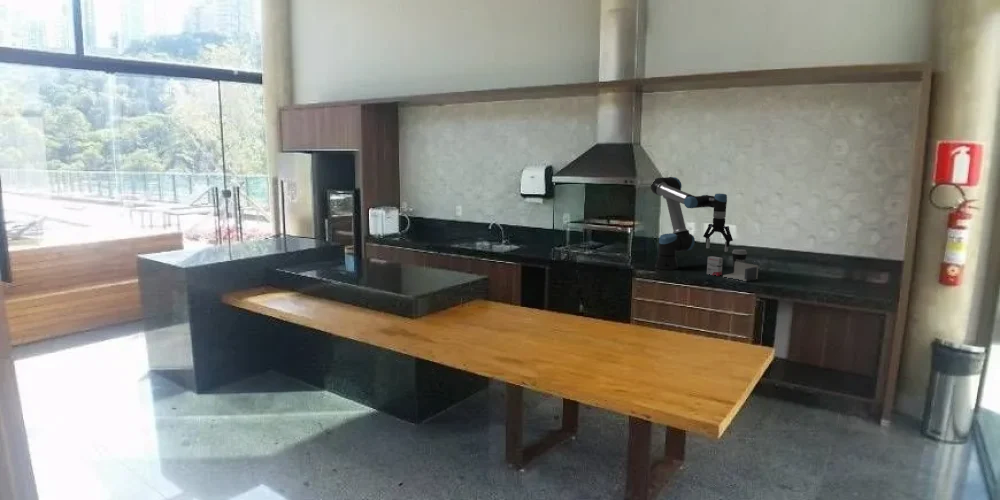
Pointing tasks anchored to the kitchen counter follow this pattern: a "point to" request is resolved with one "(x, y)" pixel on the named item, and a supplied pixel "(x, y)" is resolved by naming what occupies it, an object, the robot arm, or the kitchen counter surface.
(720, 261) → the ink box
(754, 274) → the shelf
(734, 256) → the coffee cup
